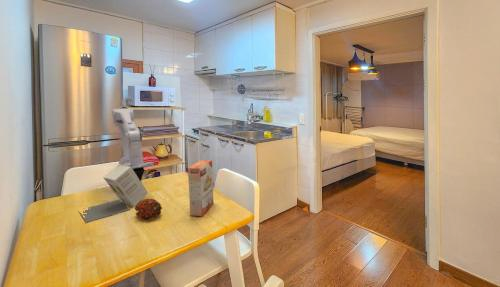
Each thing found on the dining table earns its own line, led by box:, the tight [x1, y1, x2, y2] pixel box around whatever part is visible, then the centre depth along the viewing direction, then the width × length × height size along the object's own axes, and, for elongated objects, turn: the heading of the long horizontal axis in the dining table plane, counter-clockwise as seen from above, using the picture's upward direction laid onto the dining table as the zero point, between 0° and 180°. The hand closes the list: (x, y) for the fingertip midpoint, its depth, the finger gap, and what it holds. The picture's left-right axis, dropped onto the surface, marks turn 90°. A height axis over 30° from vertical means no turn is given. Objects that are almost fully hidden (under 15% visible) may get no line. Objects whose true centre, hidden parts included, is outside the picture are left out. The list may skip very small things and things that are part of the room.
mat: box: [81, 199, 131, 224], centre depth 113 cm, size 16×17×1 cm
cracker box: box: [187, 159, 214, 217], centre depth 110 cm, size 14×6×21 cm, turn 168°
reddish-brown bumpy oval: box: [134, 198, 163, 220], centre depth 105 cm, size 8×8×12 cm
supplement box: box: [103, 163, 149, 208], centre depth 117 cm, size 10×9×17 cm
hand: (139, 183), depth 121 cm, fingers closed, pressing on supplement box
